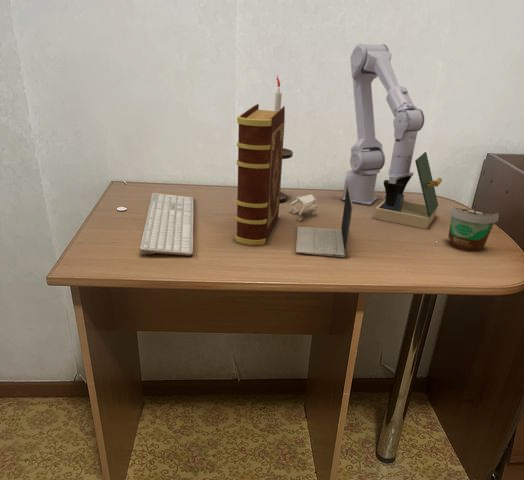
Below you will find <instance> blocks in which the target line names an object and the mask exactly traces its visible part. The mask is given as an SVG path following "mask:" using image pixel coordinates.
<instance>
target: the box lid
mask: <svg viewBox="0 0 524 480" xmlns="http://www.w3.org/2000/svg"><path fill="white" fill-rule="evenodd" d="M428 157H429V156H428V154H427V151H424V152H423V153H422V154H421V155H420V156H419V157H417V158H416V159H415V161H414V162H415V167H416V171H417V174H418V179H419V183H420V187H421V192H422V196H423V200H424V201H423V202H424V204H425V205H426V209H427V213H428V217H430V216H431V215H432V214H433V212H434V211H435V209H436V208H437V209H438V208H439V201H438V198H437V193H436V189H435V188H438V187H439V186H440V184H441V183H442V182H443V179H442V178H441V177H438V178H437V179H435V180H433V176H432V171H431V167H430V161H429V158H428Z"/></svg>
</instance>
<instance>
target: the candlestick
mask: <svg viewBox="0 0 524 480" xmlns="http://www.w3.org/2000/svg"><path fill="white" fill-rule="evenodd" d="M276 84H277V90H276V92H274V107H273V111H279V110H281V109H282V97H283V96H282V95H283V94H282V92H281V81H280V79H279V74H278V75H277V76H276ZM293 156H294V152H293V150H291V149H289V148H284V147H283V155H282V160H288V159H291V158H292V157H293ZM287 200H288V195H287V194H286V193H284V192H282V191H280V203H283V202H286V201H287Z"/></svg>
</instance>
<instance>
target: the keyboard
mask: <svg viewBox="0 0 524 480" xmlns="http://www.w3.org/2000/svg"><path fill="white" fill-rule="evenodd" d="M139 249H140V251H141V254H143V255H153V254H155V253H156V254H166V255H168V254H169V255H177V256H178V255H179V256H189V257H190V256H192V255H193V253H194V252H193V251H194V197H192V196H186V195H185V196H184V195H175V194H165V193H159V192H152V194H151V199H150V203H149V207H148V212H147V216H146V221H145V225H144V229H143V233H142V238H141V243H140V246H139Z"/></svg>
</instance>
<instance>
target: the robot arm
mask: <svg viewBox="0 0 524 480" xmlns="http://www.w3.org/2000/svg"><path fill="white" fill-rule="evenodd" d="M349 58H350V59H349V60H350V69H351V78H352V88H353V99H354V101H353V102H354V112H355V122H356V134H357V141H356V142H355V144H353V145H352V147H351V148H350V158H349V165H350V168H351V169H349V170H348V171H347V173H346V175H345V179H344V186H343V194H342V198H341V200H342V201H345V197H346V189H347V185H348V187H349V192H350V197H351V202H352V203H357V204H363V205H367V206H368V205H369V206H371V205H372V204H373V203H374V202H375V201H376V200H377V199H378V197H377V196H374V195H375V189H376V184H377V177H378V174H379V173H380V171H381V170H382V169H383V168H384V166H385V164H386V155H385V152H384V150H383V149H384V148H383V144H382V142H380V140H378V138H376V127H375V117H374V115H375V114H374V102H373V101H374V100H373V91H372V90H373V89H372V83H373V81H374V80H375V79H376V78H378V79H379V80H380V82H381V84H382V86H383V87H384V89H385V91H386V92H387V93H386V98H385V101H386V102H387V104H388V107H389V109H390V111H391V113H392V115H393V117H394V118H393V122H392V123H393V124H392V125H393V129H394V132H393V137H394V143H393V147H392V153H391V158H390V166H389V169H388V179H385V180H383V187H384V190H385V197H386V205H387V206H392V207H393V206H394V205H395V202H396V200H397V196H398V194H403V195H404V192H405V190H406V187H407V185H408V183H409V182H410V180H411V179H412V177H413V176H414V172H412V171H411V167H412V163H413V162H412V161H413V157H414V153H415V147H416V141H417V137H418V132H419V131H421V130H422V129H423V127H424V125H425V115H424V111H423V110H422V109H420V108H418V107H417V106H415V105H414V103H413V101H412V99H411V96H410V95H409V93H408V91H409V90H408V89H407V87H405V86H403V85H400V84H399V81H398V78H397V76H396V73H395V71H394V68H393V65H392V63H391V60H392V52H391V51H390V47H389V46H388V45H387V44H383V43H382V44H363V43H358V44H356V45H355V47H353V50H352V52H351V54H350V56H349Z"/></svg>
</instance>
